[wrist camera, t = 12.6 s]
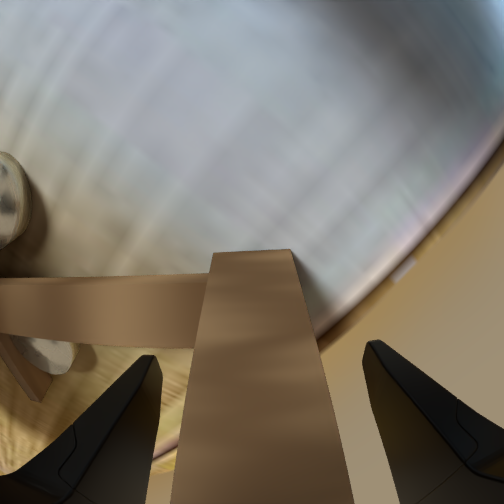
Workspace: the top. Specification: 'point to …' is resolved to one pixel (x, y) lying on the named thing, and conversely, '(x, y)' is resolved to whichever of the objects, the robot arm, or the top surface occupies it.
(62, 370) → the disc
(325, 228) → the top surface
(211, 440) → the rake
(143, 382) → the robot arm
